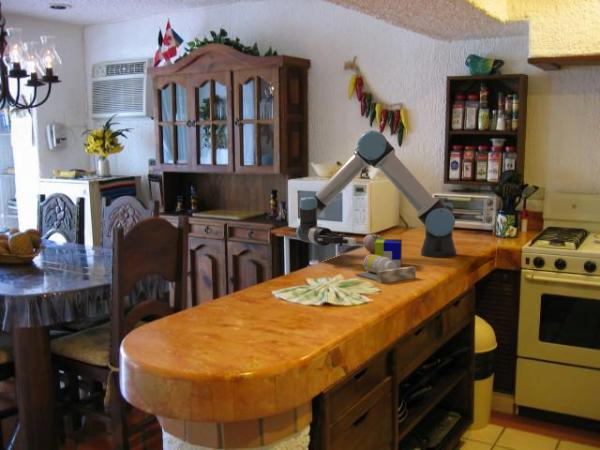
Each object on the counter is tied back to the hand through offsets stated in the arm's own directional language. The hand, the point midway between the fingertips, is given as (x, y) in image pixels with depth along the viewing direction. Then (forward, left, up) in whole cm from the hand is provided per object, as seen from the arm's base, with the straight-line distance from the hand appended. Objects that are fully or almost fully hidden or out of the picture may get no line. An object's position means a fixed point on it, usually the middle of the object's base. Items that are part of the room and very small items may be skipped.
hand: (354, 242), depth 241 cm
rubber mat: (0, +17, -11) cm, 20 cm away
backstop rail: (0, +25, -11) cm, 27 cm away
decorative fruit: (-28, -24, -11) cm, 39 cm away
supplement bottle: (0, +9, -7) cm, 11 cm away
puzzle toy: (-16, +1, -11) cm, 19 cm away
